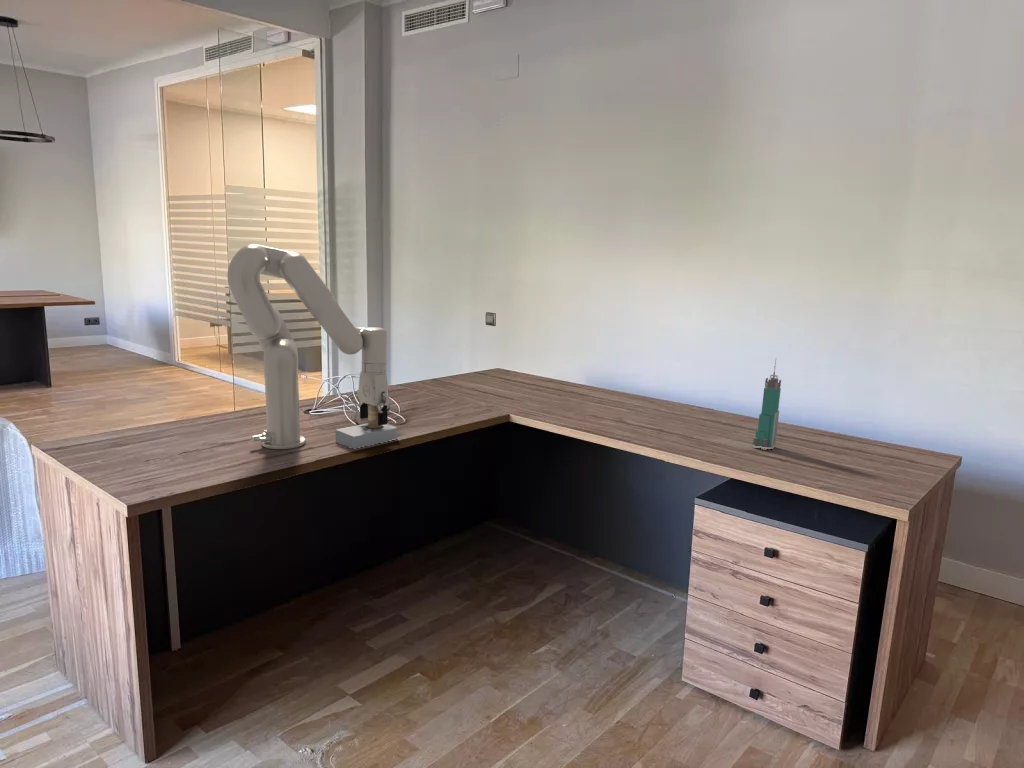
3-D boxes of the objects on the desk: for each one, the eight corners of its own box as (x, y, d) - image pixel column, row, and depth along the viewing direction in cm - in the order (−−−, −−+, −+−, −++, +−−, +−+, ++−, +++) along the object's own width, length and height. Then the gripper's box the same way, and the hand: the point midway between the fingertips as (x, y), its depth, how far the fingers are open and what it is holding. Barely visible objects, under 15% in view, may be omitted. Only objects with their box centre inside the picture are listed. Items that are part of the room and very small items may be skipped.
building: (770, 451, 223) (781, 358, 217) (751, 448, 226) (761, 356, 220) (775, 447, 228) (785, 355, 222) (756, 443, 231) (765, 353, 225)
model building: (367, 415, 261) (368, 434, 237) (354, 402, 259) (353, 421, 235) (382, 401, 261) (384, 419, 237) (368, 388, 259) (369, 405, 235)
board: (353, 449, 211) (353, 436, 210) (335, 442, 217) (335, 429, 217) (397, 439, 222) (397, 427, 221) (379, 433, 229) (379, 421, 228)
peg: (373, 441, 219) (372, 404, 216) (365, 439, 222) (365, 401, 219) (384, 439, 222) (383, 402, 219) (376, 436, 225) (376, 400, 222)
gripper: (348, 364, 220) (348, 417, 224) (380, 373, 208) (379, 429, 212) (368, 362, 226) (368, 414, 229) (400, 371, 214) (399, 425, 217)
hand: (373, 421), depth 220 cm, fingers open, 9 cm apart
